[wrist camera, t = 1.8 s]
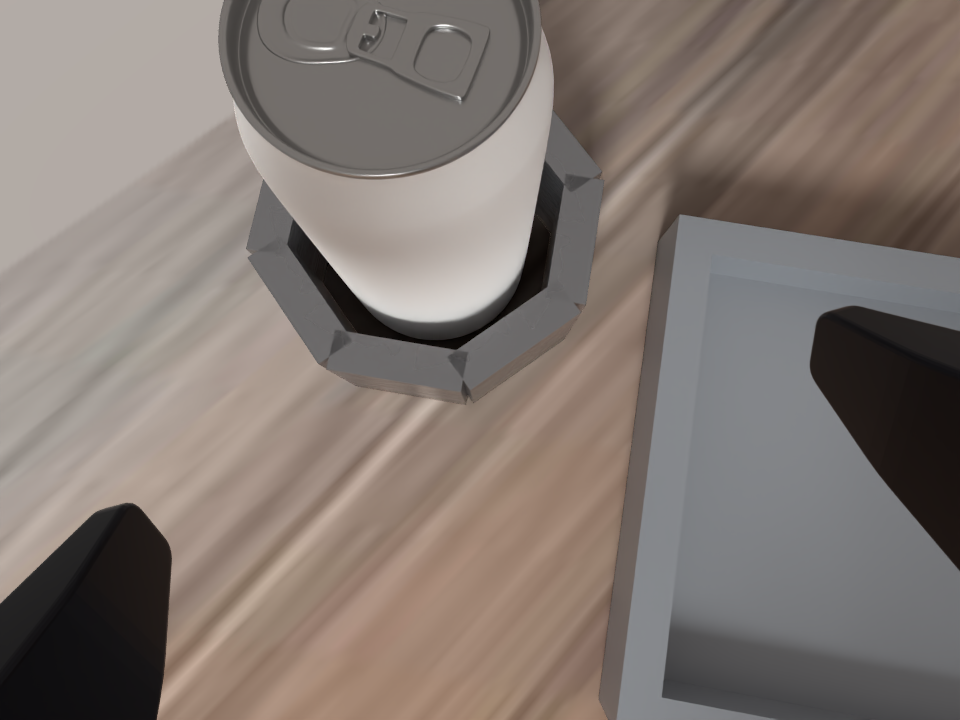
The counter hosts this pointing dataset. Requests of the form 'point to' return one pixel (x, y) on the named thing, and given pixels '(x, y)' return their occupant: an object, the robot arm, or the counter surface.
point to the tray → (772, 498)
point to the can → (400, 143)
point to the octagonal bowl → (428, 369)
